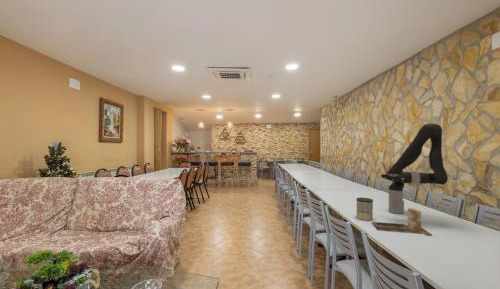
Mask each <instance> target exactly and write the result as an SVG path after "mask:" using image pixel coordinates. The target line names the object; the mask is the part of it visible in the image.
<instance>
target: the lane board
mask: <svg viewBox="0 0 500 289" xmlns="http://www.w3.org/2000/svg"><path fill="white" fill-rule="evenodd" d="M371 226H373V227H374V228H375V229H376V231H379V232H391V233H402V234H403V233H404V234H405V233H406V234H417V235H418V234H419V235H425V236H427V237H428V236H429V237H433V234H432V233H430V232H429V231H427V230H426V229H424V228H423V227H422V226H421V231H411V230H410V228H408V224H405V223H396V222H395V223H393V222H381V221H378V222H377V221H372V222H371Z"/></svg>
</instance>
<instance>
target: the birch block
mask: <svg viewBox="0 0 500 289" xmlns="http://www.w3.org/2000/svg"><path fill="white" fill-rule="evenodd" d="M407 209H408V210H407V225H408V228H410V230H411V231H421V227H422V210H420V209H418V208H410V207H409V208H407Z"/></svg>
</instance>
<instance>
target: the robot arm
mask: <svg viewBox="0 0 500 289" xmlns="http://www.w3.org/2000/svg"><path fill="white" fill-rule="evenodd" d="M429 139H430V143H431V144H430V151H429V154H428V162H429V166H430V167H429V168H430V169H431V170H432V171H433V173H432V172H431V173H430V172H427V173H426V172H415V171H404V170H405V169H406V168H407V167H409V166H411V165H412V164H414V163H415V162H416V161H417V160H418V158H419V157H420V156H421V154H422V152H423V146H424V145H425V144H426V143H427V141H428V140H429ZM442 139H443V129H442V127H441V125H440V124H437V123H425V124H424V125H422V126H421V127H420V129H419V130H418V132H417V133H416V135H415V137H414V138H413V140H412V141H411V142H410V144H409V145H408V146H407V147H406V149H405V150H404V152H402V154H401V155H400V157H399V158H398V159H397V160H396V162H395V163H393V165H392V166H391V167H390V168H388V170H387V171H386V174H381V175H380V176H381V179H384V178H385V180H388V181H389V182H392V183H391V184H389V186H388V212H389V213H391V214H397V215H403V214H405V200H404V198H403V196H404V194H403V193H404V187H405V184H411V185H413V184H420V185H421V184H422V185H423V184H425V185H426V184H434V185H446V184H447V182H448V174H447V171H446V169H445V167H444V161H443V154H442V152H443V150H442V147H443V145H442V144H443V143H442V142H443V141H442Z"/></svg>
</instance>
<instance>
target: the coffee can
mask: <svg viewBox="0 0 500 289" xmlns="http://www.w3.org/2000/svg"><path fill="white" fill-rule="evenodd" d="M373 206H374V198H373V199H372V198H370V197H369V198H368V197H357V198H356V219H357V220H360V221H366V222H373V217H374V216H373V214H374V212H373V210H374V207H373Z"/></svg>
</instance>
